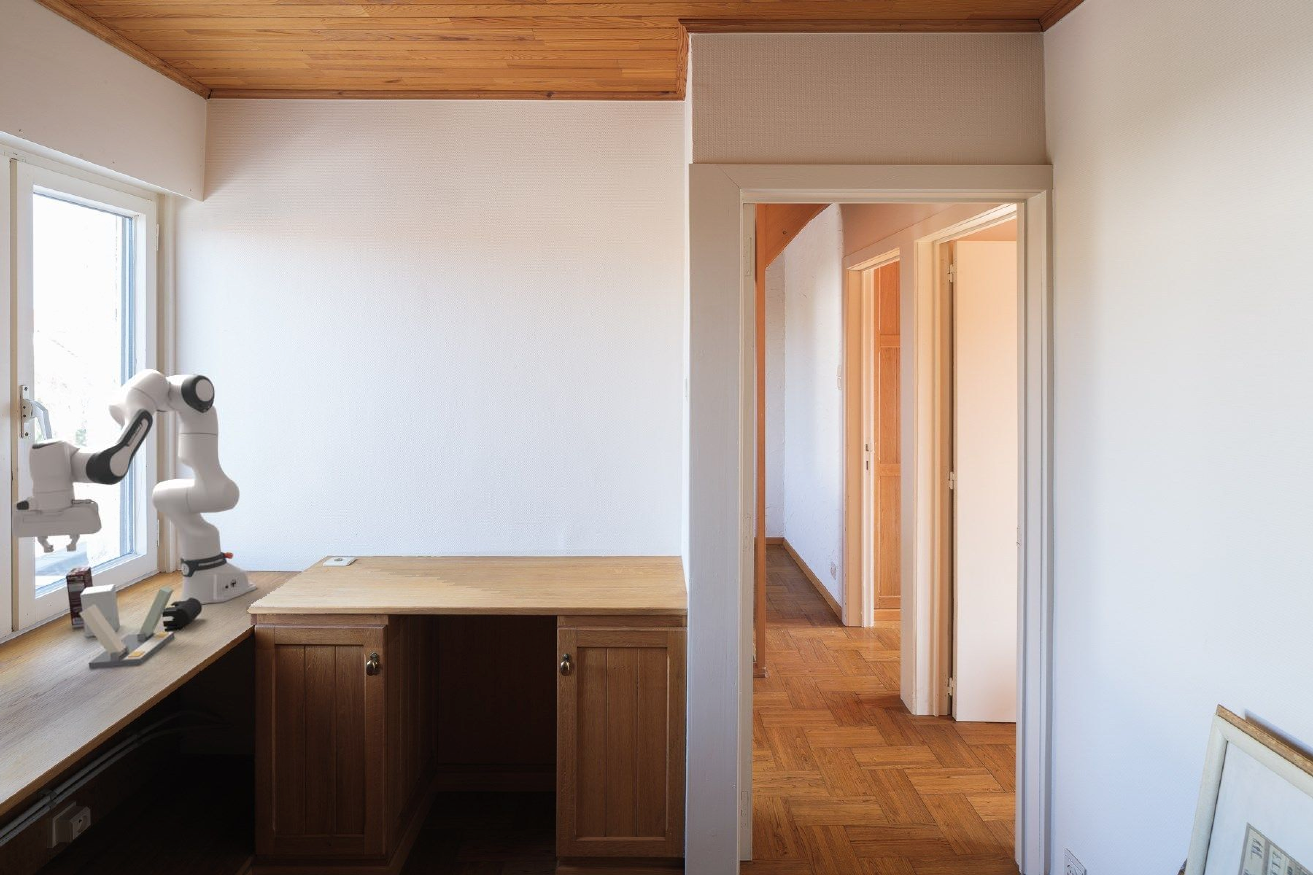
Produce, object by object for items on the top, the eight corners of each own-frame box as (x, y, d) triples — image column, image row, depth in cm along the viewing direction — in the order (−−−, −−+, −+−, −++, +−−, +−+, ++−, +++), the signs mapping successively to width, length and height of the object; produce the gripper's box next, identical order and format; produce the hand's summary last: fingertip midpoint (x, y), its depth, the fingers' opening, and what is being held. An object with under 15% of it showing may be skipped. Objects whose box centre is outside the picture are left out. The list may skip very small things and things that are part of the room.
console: (89, 668, 208) (87, 655, 207) (128, 640, 227) (127, 627, 227) (140, 664, 209) (138, 651, 209) (174, 636, 229) (173, 624, 228)
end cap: (190, 630, 234) (187, 607, 233) (163, 632, 233) (161, 609, 232) (203, 618, 244) (201, 596, 243) (177, 620, 243) (175, 598, 242)
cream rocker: (113, 660, 209) (78, 613, 207) (120, 654, 213) (86, 608, 210) (121, 655, 209) (87, 608, 207) (128, 650, 213) (95, 603, 211)
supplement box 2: (120, 625, 240) (116, 583, 238) (115, 633, 233) (110, 590, 231) (90, 629, 237) (85, 586, 235) (84, 637, 230) (79, 594, 228)
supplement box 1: (78, 619, 246) (72, 568, 244) (97, 617, 247) (91, 565, 245) (70, 628, 238) (64, 575, 236) (90, 625, 240) (84, 573, 238)
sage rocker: (137, 636, 223) (159, 589, 222) (143, 631, 226) (165, 585, 226) (145, 640, 223) (168, 592, 223) (152, 635, 227) (174, 588, 226)
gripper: (103, 496, 221) (108, 546, 222) (20, 500, 218) (26, 550, 220) (90, 500, 214) (96, 552, 216) (5, 504, 212) (11, 556, 213)
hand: (60, 551), depth 218 cm, fingers open, 4 cm apart
